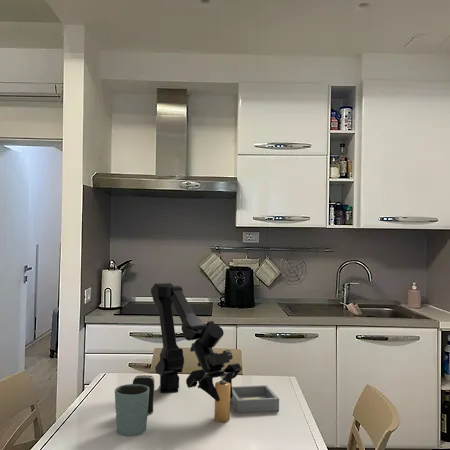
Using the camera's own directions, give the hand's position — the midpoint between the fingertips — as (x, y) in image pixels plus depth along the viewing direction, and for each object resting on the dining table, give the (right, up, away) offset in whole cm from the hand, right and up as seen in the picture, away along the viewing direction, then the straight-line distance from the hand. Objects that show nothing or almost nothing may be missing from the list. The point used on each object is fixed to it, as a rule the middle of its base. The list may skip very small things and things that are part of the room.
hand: (225, 399), depth 149 cm
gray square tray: (+9, -7, +14) cm, 19 cm away
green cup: (-28, -6, -9) cm, 30 cm away
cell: (-1, -7, +1) cm, 7 cm away
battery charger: (-27, -6, +6) cm, 28 cm away
